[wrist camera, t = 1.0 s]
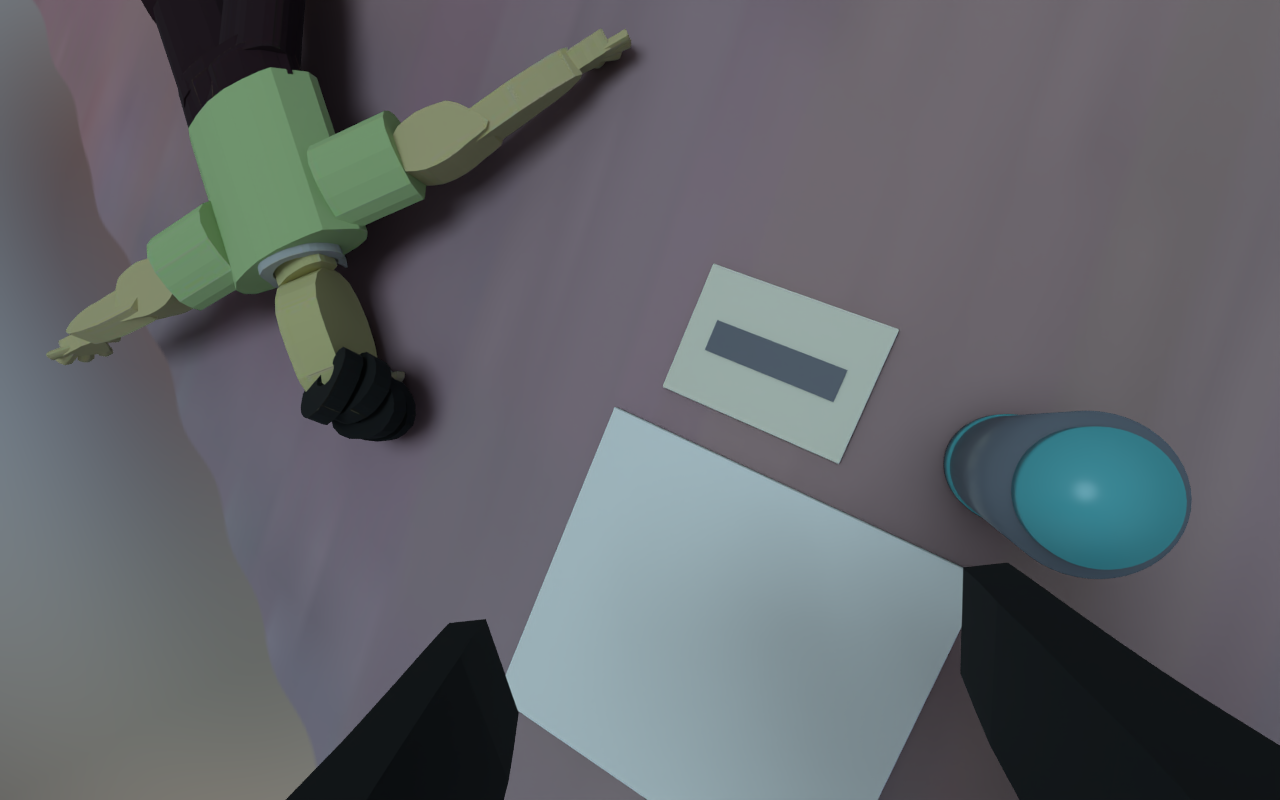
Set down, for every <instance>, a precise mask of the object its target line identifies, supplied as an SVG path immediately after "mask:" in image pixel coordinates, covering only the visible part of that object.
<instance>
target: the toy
mask: <svg viewBox="0 0 1280 800" xmlns="http://www.w3.org/2000/svg"><path fill="white" fill-rule="evenodd" d="M141 1H142V2H143V4H144V6H145V8H146V9H147V11H148V13H149V14H150V16H151V17H152V19H153V20H154V21H155V23H156V24H157V27H158V30H159V33H160V36H161V39H162V42H163V45H164V48H165V51H166V54H167V57H168V60H169V63H170V66H171V69H172V72H173V75H174V78H175V81H176V84H177V87H178V92H179V97H180V100H181V104H182V107H183V111H184V114H185V118H186V121H187V125H188V128H189V135H190V141H191V144H192V147H193V151H194V154H195V157H196V160H197V164H198V167H199V170H200V174H201V177H202V180H203V183H204V187H205V190H206V193H207V196H208V200H209V202H206V203H203V204H202V205H200V206H199V207H197V208H196V209H194V210H193V211H191V212H190V213H188V214H187V215H185V216H184V217H182V218H181V219H180V220H178V221H177V222H175V223H174V224H172V225H171V226H169V227H168V228H166V229H165V230H163V231H162V232H160V233H159V234H157V235H156V236H154V237H153V238H152V239H151V240H150V241H149V243H148V244H147V258H148V259H144V260H141V261H138V262H136V263H134V264H133V265H132V266H130V267H129V268H128V269H127V270H126V271H125V272H124V273H123V274H122V275H121V276H120V277H119V278H118V281H117V285H116V290H115V291H114V292H112V293H110V294H109V295H107V296H105V297H104V298H103V299H101V300H99V301H98V302H96V303H94V304H92V305H90V306H89V307H87V308H86V309H85V310H83V311H82V312H81V313H80V314H78V315H77V316H76V318H75V319H74V320H73V321H72V322H71V323H70V325H69V326H68V328H67V330H66V332H67V333H68V334H70V335H69V336H67V337H65V338H64V339H62V340H60V341H59V345H60V348H58V349H55V350H52V351H49V352H48V353H47V354H46V355H47V356H48V358H50V359H52V360H56V361H57V362H59V363H60V364H63V365H68V364H72V363H73V361H74V360H75V359H76V358H77V357H78V360H79V361H81V362H90V361H91V360H93V359H94V354H99V355H100V356H105V357H106V356H109V355H111V354H113V350H112V348H111V347H110V346H109V345H108V343H111V342H119V341H120V339H121V337H122V336H125V335H127V334H129V333H131V332H133V331H135V330H138V329H139V328H142V327H144V326H146V325H148V324H150V323H151V322H153V321H155V320H157V319H162V318H166V317H170V316H174V315H179V314H182V313H185V312H188V311H189V310H191V309H193V308H194V309H197V310H200V311H201V310H203V309H204V308H206V307H208V306H209V305H211V304H213V303H215V302H216V301H218V300H220V299H221V298H223V297H225V296H226V295H228V294H230V293H231V292H233V291H235V290H236V291H238V292H241V293H243V294H258V293H261V292H265V291H268V290H272V289H274V288H278V289H277V293H276V297H275V314H276V317H277V321H278V325H279V329H280V332H281V335H282V338H283V341H284V344H285V347H286V349H287V352H288V355H289V357H290V360H291V362H292V365H293V368H294V370H295V373H296V375H297V378H298V380H299V382H300V383H301V385H302V387H303V388H304V390H305V391H304V393H303V397H302V403H301V413H302V415H303V416H304V417H305V418H308V419H311V420H313V421H316V422H318V423H321V424H325V425H328V424H329V423H330V422H332V424H333V428H334V429H335V430H336V431H337V432H338V433H339V434H340V435H342V436H344V437H347V438H349V439H363V440H369V441H387V440H393V439H397V438H399V437H400V436H402V435H403V434H405V433H406V432H407V431H408V430H409V429H410V428H411V427H412V426H413V423H414V420H415V416H416V412H415V402H414V399H413V396H412V394H411V393H410V391H409V389H408V388H407V387H406V386H405V385H404V383H403V382H402V381H403V379H404V377H405V372H399V371H395V372H392V371H391V370H390V367H389V366H388V365H387V363H385V362H384V361H382V360H380V359H378V358H377V353H376V348H375V343H374V340H373V337H372V333H371V330H370V327H369V324H368V321H367V318H366V316H365V314H364V311H363V309H362V307H361V304H360V302H359V300H358V298H357V296H356V294H355V292H354V291H353V289H352V287H351V285H350V283H349V282H348V281H347V280H346V279H345V278H344V277H343V276H342V275H341V274H340V273H338V272H336V271H335V270H334V269H335V268H336V267H337V263H338V264H340V265H342V266H343V267H345V268H348V266H347V261H346V258H345V254H347V253H349V252H350V251H352V250H353V249H355V248H357V247H358V246H359V245H360V244H362V243H363V242H364V241H365V240H366V239H367V232H368V231H367V228H366V224H369V223H371V222H373V221H376V220H378V219H380V218H382V217H385V216H387V215H389V214H391V213H394V212H396V211H398V210H401V209H403V208H405V207H407V206H410V205H412V204H414V203H416V202H419V201H421V200H423V199H425V191H426V186H432V185H441V184H446V183H448V182H451V181H453V180H455V179H457V178H459V177H461V176H463V175H465V174H466V173H468V172H469V171H471V170H472V169H473V168H475V167H476V166H477V165H478V164H479V163H481V162H482V161H483V160H484V159H485V158H486V157H488V156H489V155H490V154H492V153H493V152H494V151H495V150H497V149H498V148H499V147H500V146H501V145H502V142H503V139H504V138H505V137H507V136H508V135H510V134H511V133H513V132H514V131H516V130H517V129H518V128H520V127H521V126H523V125H524V124H525V123H527V122H528V121H529V120H531V119H532V118H533V117H535V116H536V115H537V114H539V113H540V112H541V111H543V110H544V109H545V108H547V107H548V106H550V105H551V104H552V103H554V102H555V101H557V100H558V99H559V98H561V97H562V96H563V95H564V94H565V93H567V92H568V91H569V90H570V89H571V88H572V87H573V86H574V85H575V84H576V83H577V82H578V81H579V80H580V78H581V76H582V74H583V73H585V72H588V71H590V70H592V69H593V68H598V69H599V68H600V67H602V66H603V65H604V63H605V61H613V60H618V59H620V57H621V54H622V51H624V50H627V49H629V48H630V47H631V40H630V38H629V35H628V33H627V31H626V29H624V30H623V31H621V32H619V33H618V34H616V35H614V36H612V37H611V38H609V39H607V38H606V36H605V34H604V32H603V30H602V28H601V29H599V30H598V31H596V32H595V33H593V34H592V35H590V36H588V37H587V38H585V39H584V40H582V41H581V42H579V43H578V44H576V45H575V46H573V47H572V48H570V49H569V50H568V49H567V47H566V48H562V49H559V50H557V51H556V52H554V53H552V54H550V55H549V56H547V57H545V58H544V59H542V60H540V61H539V62H537V63H535V64H534V65H532V66H531V67H529V68H528V69H526V70H524V71H523V72H521V73H520V74H518V75H517V76H515V77H514V78H512V79H511V80H509V81H507V82H506V83H504V84H503V85H502V86H500V87H499V88H497V89H496V90H495V91H493V92H492V93H490V94H489V95H488V96H486V97H485V98H483V99H482V100H481V101H479V102H478V103H476V104H475V105H474V106H472V107H471V108H467V107H465V106H463V105H461V104H459V103H455V102H451V101H443V102H440V103H436V104H433V105H431V106H428V107H425V108H423V109H421V110H419V111H416V112H415V113H413V114H412V115H411V116H409V117H408V118H407V119H405V120H404V121H403V122H402V123H400V121H399V120H398V119H397V118H396V116H395V115H394V114H393V113H391V112H390V111H383V112H381V113H379V114H377V115H375V116H373V117H370V118H368V119H366V120H364V121H362V122H360V123H358V124H356V125H353V126H351V127H349V128H347V129H345V130H343V131H341V132H339V133H337V134H335V132H334V129H333V125H332V122H331V119H330V116H329V113H328V110H327V107H326V104H325V101H324V98H323V95H322V92H321V89H320V86H319V83H318V80H317V77H315V76H314V75H312V74H311V73H309V72H306V71H301V69H300V63H301V50H302V37H303V23H304V10H305V0H141Z"/></svg>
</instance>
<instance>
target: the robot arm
mask: <svg viewBox="0 0 1280 800" xmlns="http://www.w3.org/2000/svg"><path fill="white" fill-rule="evenodd" d="M961 676H962V678H963V681H964V683H965V686H966V688H967V691H968V693H969V696H970V698H971V701H972V703H973V706H974V708H975V711H976V713H977V715H978V718H979V720H980V722H981V725H982V727H983V729H984V732H985V734H986V737H987V739H988V741H989V744H990V746H991V748H992V749H993V751H994V753H995V755H996V757H997V759H998V761H999V763H1000V765H1001V766H1002V768H1003V770H1004V772H1005V774H1006V776H1007V777H1008V779H1009V781H1010V783H1011V785H1012V787H1013V788H1014V790H1015V792H1016V794H1017V796H1018V798H1019V800H1280V745H1278V744H1276V743H1275V742H1273V741H1272V740H1270V739H1268V738H1267V737H1265V736H1263V735H1262V734H1260V733H1259V732H1257V731H1255V730H1254V729H1252V728H1251V727H1249V726H1247V725H1246V724H1244V723H1243V722H1241V721H1239V720H1238V719H1236V718H1234V717H1233V716H1231V715H1230V714H1228V713H1226V712H1225V711H1223V710H1222V709H1220V708H1218V707H1217V706H1215V705H1214V704H1212V703H1210V702H1209V701H1207V700H1206V699H1204V698H1203V697H1201V696H1199V695H1198V694H1196V693H1195V692H1193V691H1192V690H1190V689H1189V688H1187V687H1186V686H1184V685H1183V684H1181V683H1179V682H1178V681H1176V680H1175V679H1173V678H1172V677H1170V676H1169V675H1167V674H1166V673H1164V672H1163V671H1161V670H1160V669H1158V668H1157V667H1155V666H1154V665H1152V664H1151V663H1149V662H1148V661H1146V660H1145V659H1143V658H1142V657H1141V656H1139V655H1138V654H1136V653H1135V652H1133V651H1132V650H1130V649H1129V648H1127V647H1126V646H1124V645H1123V644H1122V643H1120V642H1119V641H1117V640H1116V639H1114V638H1113V637H1111V636H1110V635H1109V634H1107V633H1106V632H1104V631H1103V630H1101V629H1100V628H1099V627H1097V626H1096V625H1094V624H1093V623H1092V622H1090V621H1089V620H1087V619H1086V618H1085V617H1083V616H1082V615H1080V614H1079V613H1078V612H1076V611H1075V610H1073V609H1072V608H1070V607H1069V606H1068V605H1066V604H1065V603H1063V602H1062V601H1061V600H1059V599H1058V598H1057V597H1055V596H1054V595H1052V594H1051V593H1050V592H1048V591H1047V590H1045V589H1044V588H1043V587H1041V586H1040V585H1039V584H1037V583H1036V582H1034V581H1033V580H1032V579H1030V578H1029V577H1027V576H1026V575H1025V574H1023V573H1022V572H1020V571H1019V570H1017V569H1016V568H1015V567H1013V566H1012V565H1010V564H1009V563H1001V564H991V565H982V566H973V567H964V568H963V592H962V633H961ZM517 721H518V710H517V707H516V704H515V701H514V698H513V696H512V693H511V690H510V687H509V684H508V681H507V678H506V676H505V673H504V670H503V667H502V664H501V661H500V659H499V656H498V653H497V650H496V647H495V644H494V641H493V639H492V636H491V633H490V630H489V627H488V624H487V622H486V619H483V620H474V621H465V622H456V623H449V624H448V625H447V626H446V627H445V628H444V629H443V630H442V631H441V632H440V633H439V634H438V636H437V637H436V638H435V639H434V640H433V641H432V642H431V643H430V644H429V645H428V647H427V648H426V649H425V650H424V651H423V652H422V653H421V654H420V656H419V657H418V658H417V659H416V660H415V661H414V662H413V664H412V665H411V666H410V667H409V668H408V669H407V670H406V671H405V673H404V674H403V675H402V676H401V677H400V678H399V679H398V681H397V682H396V683H395V684H394V685H393V686H392V687H391V688H390V690H389V691H388V692H387V693H386V694H385V695H384V696H383V697H382V698H381V699H380V701H379V702H378V703H377V704H376V705H375V706H374V707H373V708H372V709H371V711H370V712H369V713H368V714H367V715H366V716H365V717H364V718H363V719H362V721H361V722H360V723H359V724H358V725H357V726H356V727H355V728H354V729H353V730H352V732H351V733H350V734H349V735H348V736H347V737H346V738H345V739H344V740H343V741H342V742H341V743H340V744H339V745H338V746H337V748H336V749H335V750H334V751H333V752H332V753H331V754H330V755H329V756H328V757H327V758H326V759H325V760H324V761H323V762H322V763H321V764H320V765H319V766H318V767H317V768H316V769H315V770H314V771H313V772H312V773H311V774H310V775H309V776H308V777H307V778H306V779H305V780H304V782H303V783H302V784H301V785H300V786H299V787H298V788H297V789H296V790H295V791H294V792H293V793H292V794H291V795H290V796H289V797H288V798H287V799H286V800H504V797H505V793H506V789H507V785H508V780H509V774H510V768H511V762H512V756H513V750H514V742H515V735H516V728H517Z"/></svg>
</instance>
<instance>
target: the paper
mask: <svg viewBox="0 0 1280 800" xmlns="http://www.w3.org/2000/svg"><path fill="white" fill-rule="evenodd" d="M962 592H963V567H961V566H959V565H957V564H955V563H953V562H950V561H948V560H946V559H944V558H942V557H940V556H938V555H935V554H933V553H931V552H929V551H927V550H925V549H922V548H920V547H918V546H916V545H914V544H912V543H909V542H907V541H905V540H903V539H901V538H899V537H896V536H894V535H892V534H890V533H888V532H886V531H883V530H881V529H879V528H877V527H875V526H873V525H870V524H868V523H866V522H864V521H862V520H860V519H858V518H855V517H853V516H851V515H849V514H847V513H845V512H842V511H840V510H838V509H836V508H834V507H832V506H829V505H827V504H825V503H823V502H821V501H819V500H816V499H814V498H812V497H810V496H808V495H806V494H803V493H801V492H799V491H797V490H795V489H793V488H791V487H788V486H786V485H784V484H782V483H780V482H778V481H775V480H773V479H771V478H769V477H767V476H765V475H762V474H760V473H758V472H756V471H754V470H752V469H749V468H747V467H745V466H743V465H741V464H739V463H736V462H734V461H732V460H730V459H728V458H726V457H723V456H721V455H719V454H717V453H715V452H713V451H711V450H708V449H706V448H704V447H702V446H700V445H698V444H695V443H693V442H691V441H689V440H687V439H685V438H682V437H680V436H678V435H676V434H674V433H672V432H669V431H667V430H665V429H663V428H661V427H659V426H656V425H654V424H652V423H650V422H648V421H646V420H644V419H641V418H639V417H637V416H635V415H633V414H631V413H628V412H626V411H624V410H622V409H620V408H618V407H615V408H614V410H613V413H612V415H611V418H610V420H609V423H608V425H607V428H606V430H605V432H604V435H603V437H602V440H601V442H600V445H599V447H598V450H597V452H596V455H595V457H594V460H593V462H592V464H591V467H590V469H589V472H588V474H587V477H586V479H585V482H584V484H583V487H582V489H581V491H580V494H579V496H578V499H577V501H576V504H575V506H574V509H573V511H572V514H571V516H570V518H569V521H568V523H567V526H566V528H565V531H564V533H563V536H562V538H561V541H560V543H559V546H558V548H557V550H556V553H555V555H554V558H553V560H552V563H551V565H550V568H549V570H548V573H547V575H546V577H545V580H544V582H543V585H542V587H541V590H540V592H539V595H538V597H537V600H536V602H535V605H534V607H533V609H532V612H531V614H530V617H529V619H528V622H527V624H526V627H525V629H524V632H523V634H522V636H521V639H520V641H519V644H518V646H517V649H516V651H515V654H514V656H513V659H512V661H511V663H510V666H509V668H508V671H507V673H506V678H507V681H508V684H509V687H510V690H511V693H512V696H513V698H514V701H515V704H516V707H517V710H518V711H519V712H521V713H522V714H524V715H525V716H527V717H528V718H529V719H531V720H532V721H534V722H535V723H537V724H538V725H540V726H541V727H543V728H544V729H545V730H547V731H548V732H550V733H551V734H553V735H554V736H556V737H557V738H559V739H560V740H561V741H563V742H564V743H566V744H567V745H569V746H570V747H572V748H573V749H575V750H576V751H577V752H579V753H580V754H582V755H583V756H585V757H586V758H588V759H589V760H591V761H592V762H593V763H595V764H596V765H598V766H599V767H601V768H602V769H604V770H605V771H607V772H608V773H609V774H611V775H612V776H614V777H615V778H617V779H618V780H620V781H621V782H623V783H624V784H625V785H627V786H628V787H630V788H631V789H633V790H634V791H636V792H637V793H638V794H640V795H641V796H643V797H644V798H646V799H647V800H878V798H879V796H880V794H881V792H882V790H883V788H884V786H885V784H886V782H887V780H888V778H889V776H890V774H891V771H892V769H893V767H894V765H895V763H896V761H897V759H898V757H899V755H900V753H901V751H902V749H903V747H904V745H905V743H906V741H907V738H908V736H909V734H910V732H911V730H912V728H913V726H914V724H915V722H916V720H917V718H918V716H919V714H920V712H921V710H922V708H923V705H924V703H925V701H926V699H927V697H928V695H929V693H930V691H931V689H932V687H933V685H934V683H935V681H936V679H937V677H938V675H939V672H940V670H941V668H942V666H943V664H944V662H945V660H946V658H947V656H948V654H949V652H950V650H951V648H952V646H953V644H954V642H955V639H956V637H957V635H958V633H959V631H960V629H961V627H962Z"/></svg>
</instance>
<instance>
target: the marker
mask: <svg viewBox="0 0 1280 800" xmlns="http://www.w3.org/2000/svg"><path fill="white" fill-rule="evenodd" d="M944 473H945V477H946V480H947V482H948V485H949V487H950V489H951V490H952V492H953V493H954V495H955V496H956V497H957V498H958V500H959V501H960V502H961V503H962V504H964V505H965V506H966V507H967V508H968V509H970V510H971V511H972V512H974V513H975V514H977V515H978V516H980V517H982V518H983V519H985V520H986V521H987V522H988V523H989V524H991V525H992V526H993V527H994V528H996V529H997V530H998V531H999V532H1001V533H1002V534H1003V535H1004V536H1005V537H1007V538H1008V539H1009V540H1010V541H1012V542H1013V543H1014V544H1015V545H1016V546H1018V547H1019V548H1020V549H1021V550H1023V551H1024V552H1025V553H1026V554H1028V555H1029V556H1030V557H1032V558H1033V559H1035V560H1036V561H1038V562H1039V563H1041V564H1043V565H1045V566H1047V567H1049V568H1050V569H1053V570H1055V571H1058V572H1061V573H1063V574H1067V575H1071V576H1075V577H1081V578H1088V579H1107V578H1116V577H1121V576H1126V575H1130V574H1133V573H1136V572H1139V571H1141V570H1143V569H1145V568H1147V567H1149V566H1151V565H1153V564H1154V563H1156V562H1157V561H1159V560H1160V559H1162V558H1163V557H1164V556H1165V555H1166V554H1167V553H1169V552H1170V551H1171V549H1172V548H1173V547H1174V546H1175V545H1176V544H1177V542H1178V541H1179V539H1180V538H1181V536H1182V534H1183V533H1184V530H1185V528H1186V526H1187V523H1188V520H1189V516H1190V512H1191V500H1192V499H1191V488H1190V484H1189V480H1188V476H1187V474H1186V471H1185V469H1184V467H1183V465H1182V463H1181V461H1180V460H1179V458H1178V456H1177V455H1176V454H1175V452H1174V451H1173V450H1172V449H1171V447H1170V446H1169V445H1168V444H1167V443H1166V442H1165V441H1164V440H1163V439H1162V438H1161V437H1159V436H1158V435H1157V434H1155V433H1154V432H1153V431H1151V430H1150V429H1148V428H1147V427H1145V426H1143V425H1141V424H1140V423H1138V422H1135V421H1133V420H1131V419H1128V418H1126V417H1122V416H1119V415H1116V414H1111V413H1105V412H1098V411H1074V412H1058V413H1043V414H1027V415H1013V414H1002V415H992V416H986V417H983V418H979V419H977V420H975V421H972V422H971V423H969V424H967V425H965V426H964V427H963V428H961V429H960V430H959V431H958V432H957V433H956V434H955V435H954V436H953V438H952V439H951V440H950V442H949V444H948V446H947V448H946V451H945V455H944Z"/></svg>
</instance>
